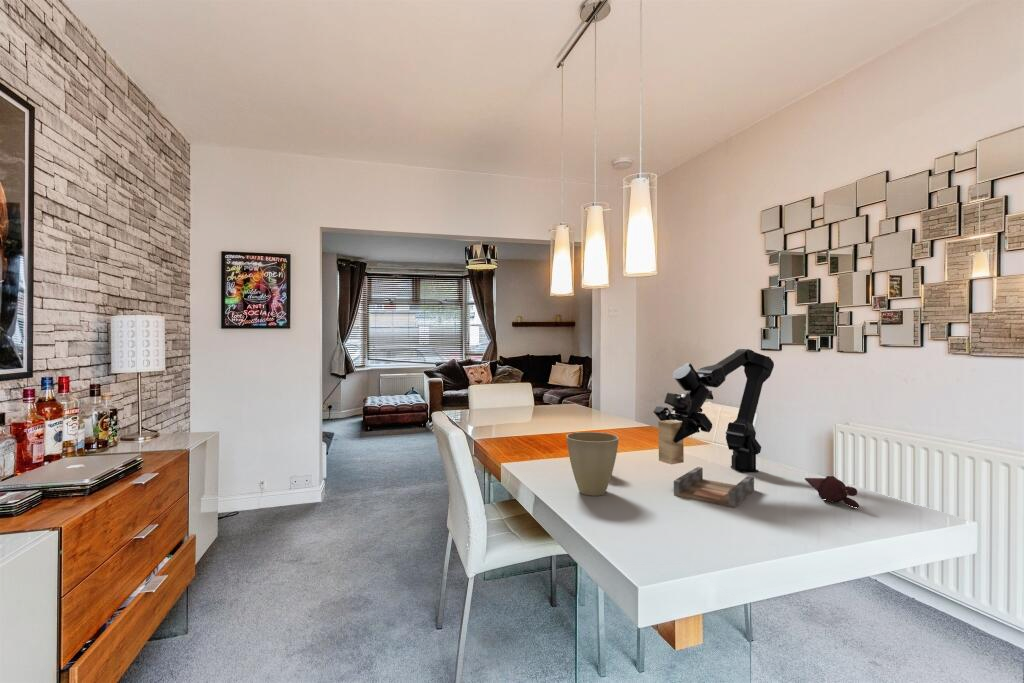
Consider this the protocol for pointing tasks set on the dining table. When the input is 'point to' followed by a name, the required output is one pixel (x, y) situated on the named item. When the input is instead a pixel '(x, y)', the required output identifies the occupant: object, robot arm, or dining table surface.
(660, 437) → the oak block
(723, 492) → the bay
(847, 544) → the dining table surface
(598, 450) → the plant pot
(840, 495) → the icecream
